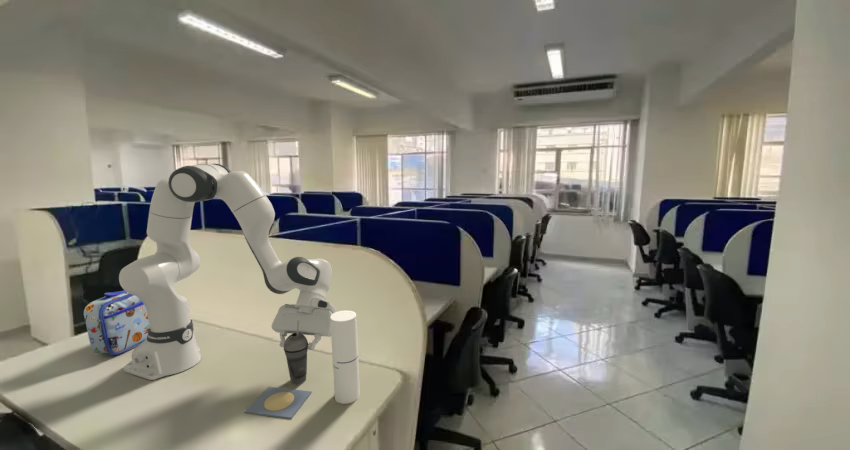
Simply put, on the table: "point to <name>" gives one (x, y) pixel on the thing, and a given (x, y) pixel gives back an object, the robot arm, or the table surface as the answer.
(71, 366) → the table surface
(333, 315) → the cylindrical container
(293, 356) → the beverage cup
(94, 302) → the lunch box
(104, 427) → the table surface
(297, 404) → the card
